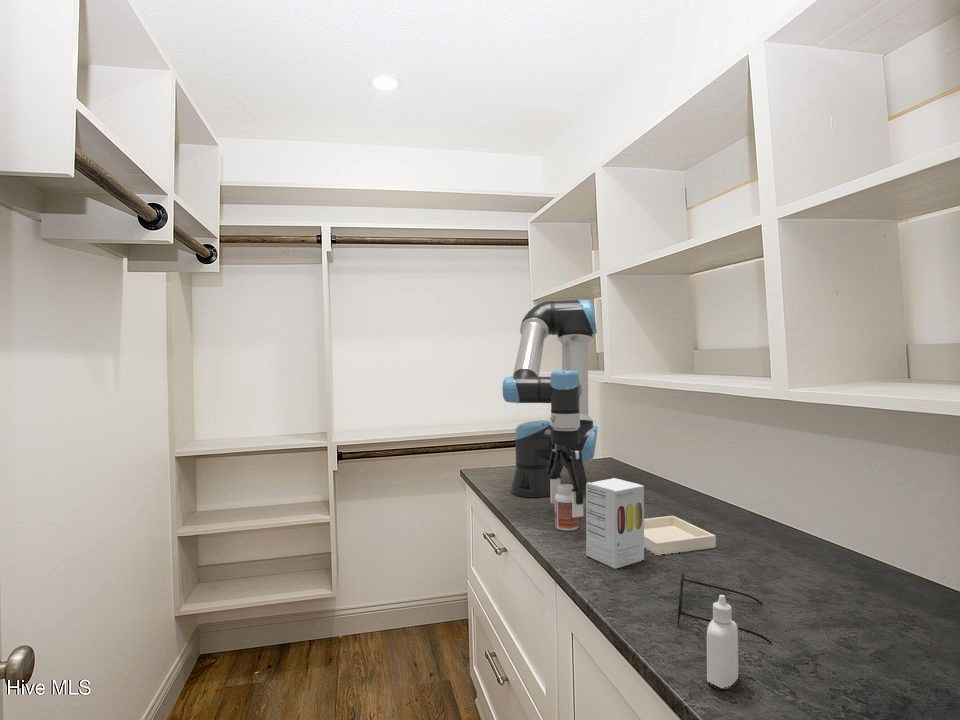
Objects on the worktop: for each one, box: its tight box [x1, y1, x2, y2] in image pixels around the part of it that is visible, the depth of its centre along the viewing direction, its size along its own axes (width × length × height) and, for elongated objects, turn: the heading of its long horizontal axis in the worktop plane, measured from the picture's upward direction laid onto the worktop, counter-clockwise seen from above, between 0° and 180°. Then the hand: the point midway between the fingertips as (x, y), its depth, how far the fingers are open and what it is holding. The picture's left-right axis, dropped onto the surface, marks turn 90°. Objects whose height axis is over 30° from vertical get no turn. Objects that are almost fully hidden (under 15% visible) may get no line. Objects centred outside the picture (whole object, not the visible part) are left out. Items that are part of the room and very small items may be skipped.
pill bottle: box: [554, 483, 579, 532], centre depth 140 cm, size 6×6×11 cm
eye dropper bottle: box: [706, 594, 739, 688], centre depth 75 cm, size 4×6×12 cm
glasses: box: [677, 572, 773, 644], centre depth 93 cm, size 14×15×5 cm
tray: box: [644, 515, 717, 556], centre depth 130 cm, size 16×16×3 cm
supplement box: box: [585, 477, 645, 570], centre depth 119 cm, size 10×9×17 cm
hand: (566, 509), depth 140 cm, fingers open, 13 cm apart
